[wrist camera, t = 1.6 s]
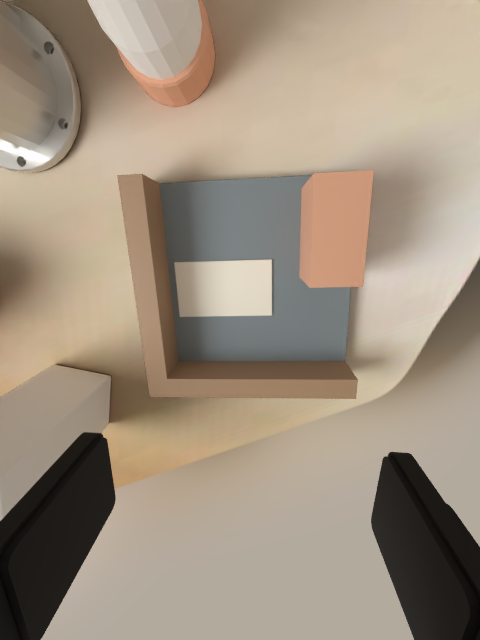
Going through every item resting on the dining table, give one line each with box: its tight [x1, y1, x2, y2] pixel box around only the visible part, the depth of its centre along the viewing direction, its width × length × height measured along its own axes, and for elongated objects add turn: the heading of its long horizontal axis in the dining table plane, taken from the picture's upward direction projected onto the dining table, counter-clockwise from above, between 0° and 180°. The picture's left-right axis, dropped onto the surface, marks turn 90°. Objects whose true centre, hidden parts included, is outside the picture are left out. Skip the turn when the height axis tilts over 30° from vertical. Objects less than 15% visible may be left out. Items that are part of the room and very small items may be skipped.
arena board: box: [117, 174, 358, 399], centre depth 26 cm, size 20×20×5 cm
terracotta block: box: [299, 170, 374, 288], centre depth 23 cm, size 8×4×6 cm, turn 2°
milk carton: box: [0, 365, 111, 521], centre depth 25 cm, size 7×7×19 cm
